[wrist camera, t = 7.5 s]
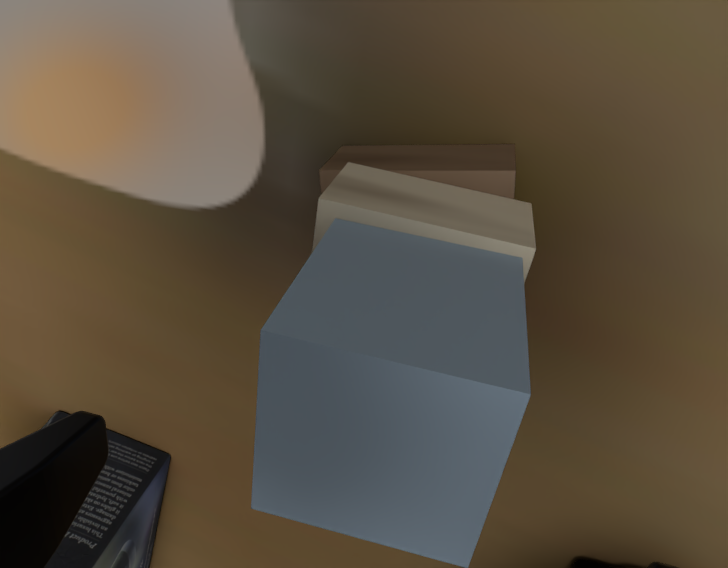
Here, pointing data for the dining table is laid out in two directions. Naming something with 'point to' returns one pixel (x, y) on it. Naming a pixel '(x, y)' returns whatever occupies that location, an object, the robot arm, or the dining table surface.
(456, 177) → the tower base
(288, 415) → the blue cube
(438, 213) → the tower mid
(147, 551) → the small box
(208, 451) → the dining table surface
